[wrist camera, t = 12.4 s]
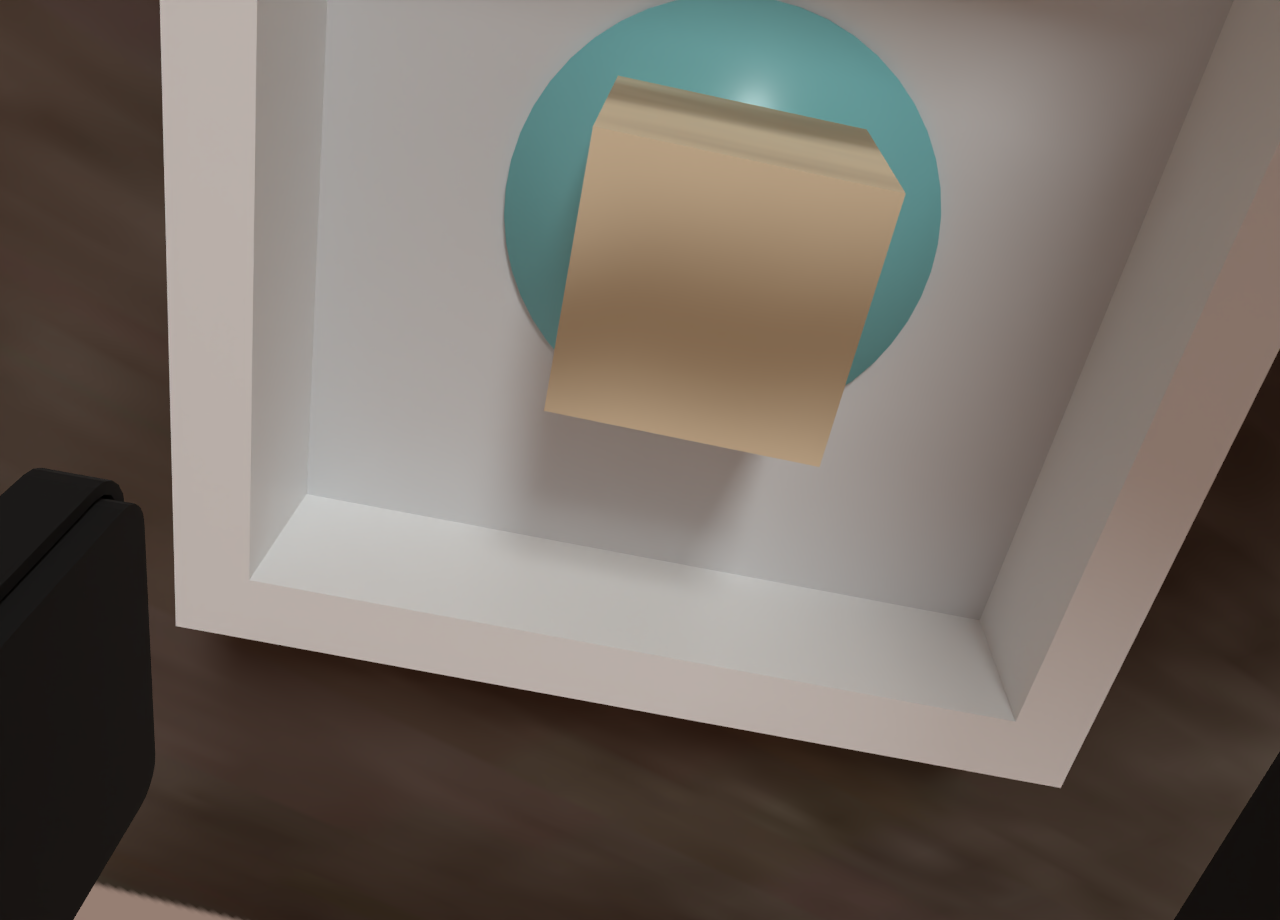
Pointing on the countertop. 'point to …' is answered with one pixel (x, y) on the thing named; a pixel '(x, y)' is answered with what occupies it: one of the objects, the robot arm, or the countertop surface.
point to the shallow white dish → (691, 471)
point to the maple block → (720, 271)
